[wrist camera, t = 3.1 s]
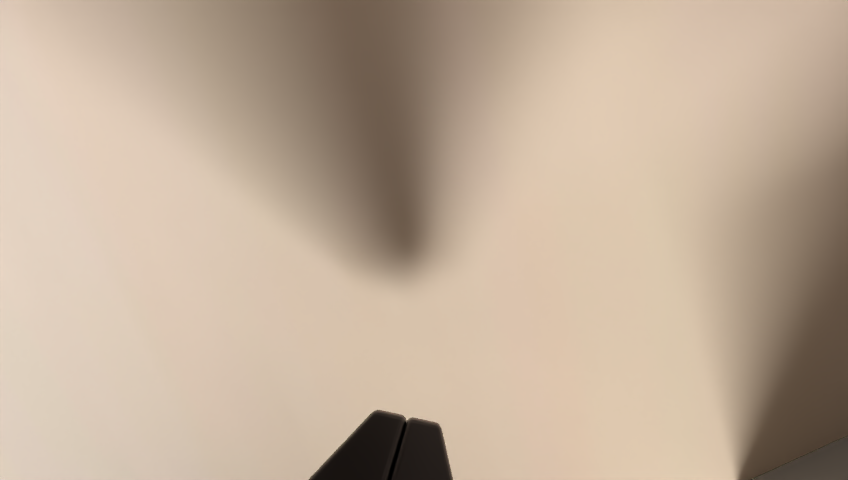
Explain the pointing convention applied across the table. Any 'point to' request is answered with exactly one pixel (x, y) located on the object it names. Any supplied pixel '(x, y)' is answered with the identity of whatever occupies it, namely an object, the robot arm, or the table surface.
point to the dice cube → (815, 465)
